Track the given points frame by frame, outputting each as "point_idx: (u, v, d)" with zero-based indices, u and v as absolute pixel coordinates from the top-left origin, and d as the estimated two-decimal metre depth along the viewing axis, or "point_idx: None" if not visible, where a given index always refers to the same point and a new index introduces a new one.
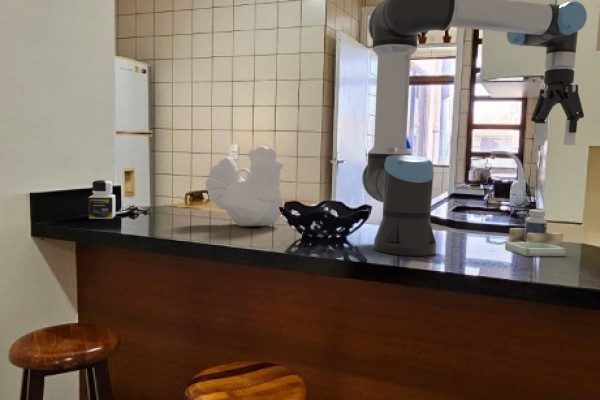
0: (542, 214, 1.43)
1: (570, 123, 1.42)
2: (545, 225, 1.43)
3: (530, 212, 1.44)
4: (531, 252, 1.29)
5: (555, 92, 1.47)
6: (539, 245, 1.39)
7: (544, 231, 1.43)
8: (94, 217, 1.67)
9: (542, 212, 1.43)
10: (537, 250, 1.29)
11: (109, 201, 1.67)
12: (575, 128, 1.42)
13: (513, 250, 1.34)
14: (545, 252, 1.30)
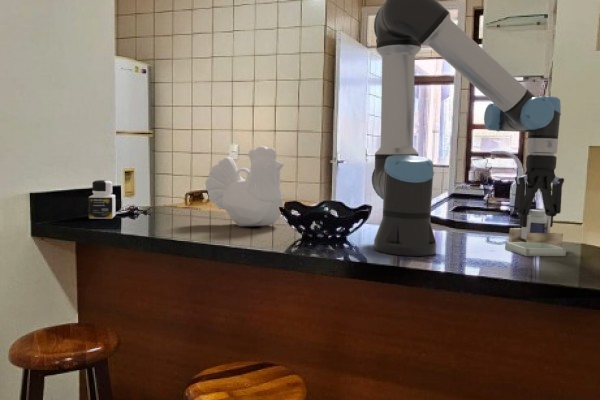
0: (542, 214, 1.43)
1: None
2: (545, 225, 1.43)
3: (530, 212, 1.44)
4: (531, 252, 1.29)
5: None
6: (539, 245, 1.39)
7: (544, 231, 1.43)
8: (94, 217, 1.67)
9: (542, 212, 1.43)
10: (537, 250, 1.29)
11: (109, 201, 1.67)
12: (522, 222, 1.44)
13: (513, 250, 1.34)
14: (545, 252, 1.30)
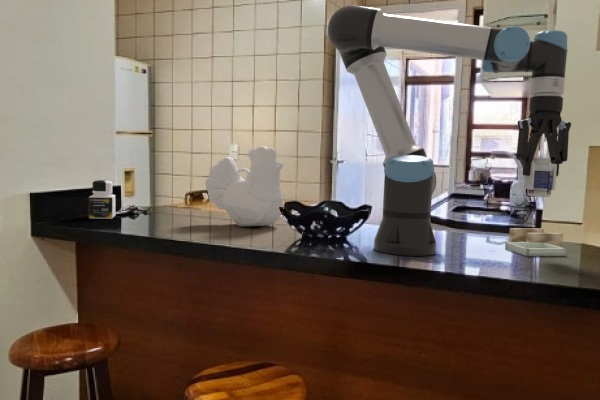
0: (547, 161, 1.30)
1: None
2: (551, 173, 1.30)
3: (534, 159, 1.32)
4: (531, 252, 1.29)
5: None
6: (539, 245, 1.39)
7: (549, 180, 1.30)
8: (94, 217, 1.67)
9: (547, 159, 1.30)
10: (537, 250, 1.29)
11: (109, 201, 1.67)
12: (525, 171, 1.31)
13: (513, 250, 1.34)
14: (545, 252, 1.30)
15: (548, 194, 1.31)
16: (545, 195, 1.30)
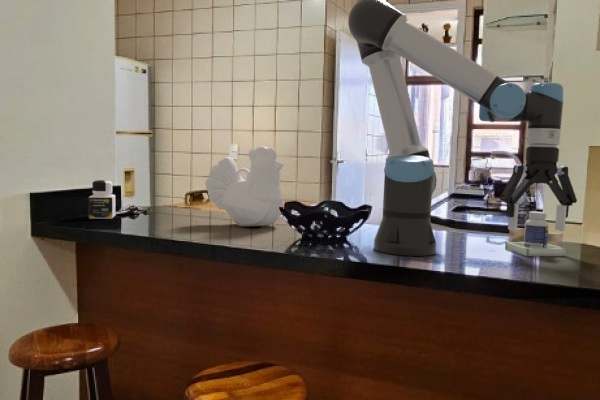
0: (543, 216, 1.32)
1: None
2: (546, 228, 1.32)
3: (530, 214, 1.33)
4: (531, 252, 1.29)
5: None
6: None
7: (545, 235, 1.32)
8: (94, 217, 1.67)
9: (543, 214, 1.31)
10: (537, 250, 1.29)
11: (109, 201, 1.67)
12: (508, 212, 1.31)
13: (513, 250, 1.34)
14: (545, 252, 1.30)
15: None
16: None
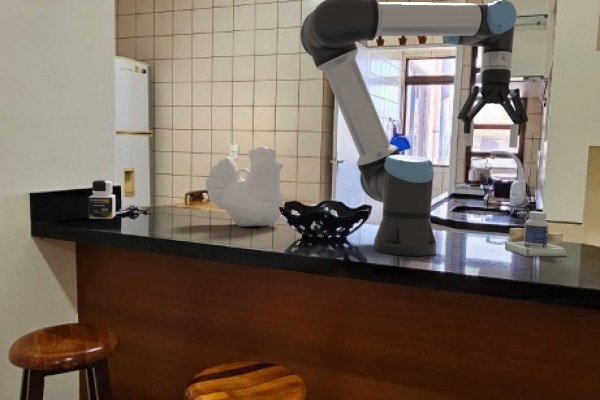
0: (543, 216, 1.32)
1: None
2: (546, 228, 1.32)
3: (530, 214, 1.33)
4: (531, 252, 1.29)
5: None
6: None
7: (545, 235, 1.32)
8: (94, 217, 1.67)
9: (543, 214, 1.31)
10: (537, 250, 1.29)
11: (109, 201, 1.67)
12: (465, 129, 1.45)
13: (513, 250, 1.34)
14: (545, 252, 1.30)
15: None
16: None
